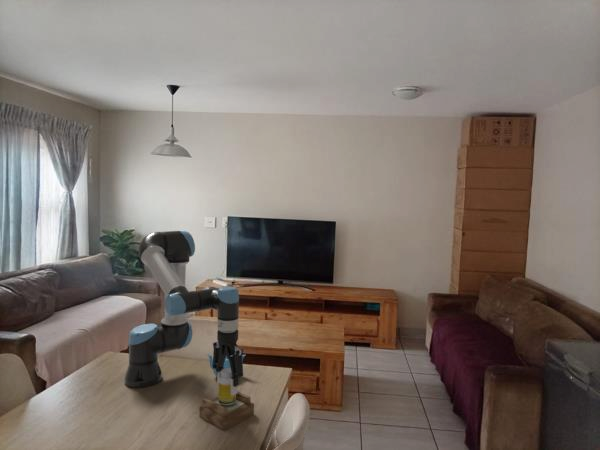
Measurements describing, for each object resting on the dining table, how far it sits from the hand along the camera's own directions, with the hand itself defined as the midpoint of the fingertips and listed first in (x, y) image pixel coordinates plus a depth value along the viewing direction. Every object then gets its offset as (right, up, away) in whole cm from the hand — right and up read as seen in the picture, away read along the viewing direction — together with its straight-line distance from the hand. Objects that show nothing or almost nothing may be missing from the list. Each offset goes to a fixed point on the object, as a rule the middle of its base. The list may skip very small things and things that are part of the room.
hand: (227, 391), depth 148 cm
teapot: (-7, -7, +33) cm, 35 cm away
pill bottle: (0, -4, 0) cm, 4 cm away
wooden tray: (0, -9, +1) cm, 9 cm away
